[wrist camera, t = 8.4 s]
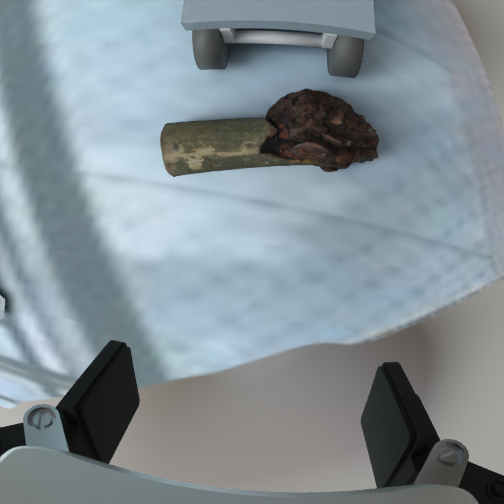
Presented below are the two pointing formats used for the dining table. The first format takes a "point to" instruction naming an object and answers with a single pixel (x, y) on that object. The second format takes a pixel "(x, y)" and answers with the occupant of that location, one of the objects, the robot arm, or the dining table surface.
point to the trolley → (281, 17)
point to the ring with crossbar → (2, 307)
